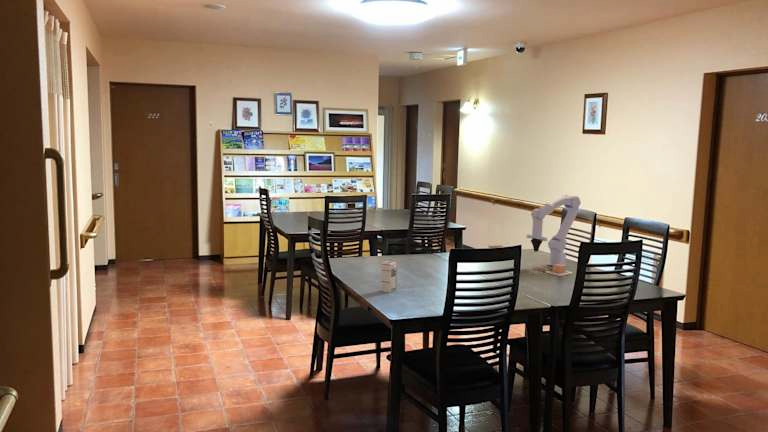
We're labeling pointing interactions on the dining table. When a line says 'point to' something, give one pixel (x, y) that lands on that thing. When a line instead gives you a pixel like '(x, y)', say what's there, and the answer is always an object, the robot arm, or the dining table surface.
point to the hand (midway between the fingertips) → (536, 251)
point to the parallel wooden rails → (543, 268)
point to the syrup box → (388, 276)
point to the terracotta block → (559, 268)
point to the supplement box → (495, 246)
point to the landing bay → (560, 274)
